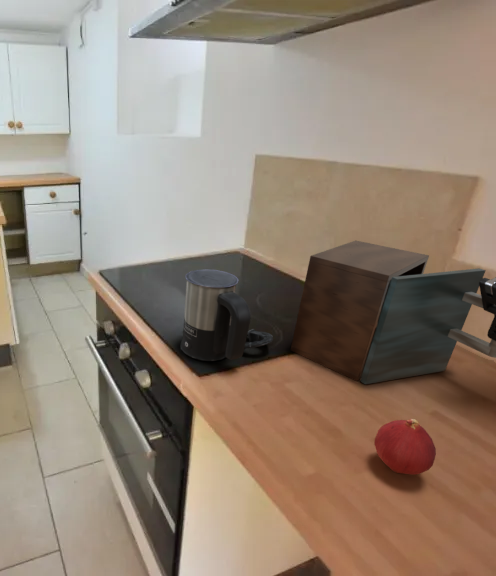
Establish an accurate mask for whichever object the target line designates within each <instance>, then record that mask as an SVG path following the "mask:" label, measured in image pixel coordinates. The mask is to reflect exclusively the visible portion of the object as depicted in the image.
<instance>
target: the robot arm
mask: <svg viewBox="0 0 496 576" xmlns="http://www.w3.org/2000/svg"><path fill="white" fill-rule="evenodd" d="M479 291H480V295H481V298H482V303H483V308H482V309H483V311H485V312H486V313H487V312H488V313H490V314H492V315H493V319H492V320H491V324H490V325H489V328H488V330H487V334H486V336H487V337H488V339H490V340H491V339H492V340H494V341H496V276H494V277H493V278H491V279H490V278H487V277H483V278H482V279H481V280H480V282H479ZM494 304H495V305H494Z"/></svg>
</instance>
